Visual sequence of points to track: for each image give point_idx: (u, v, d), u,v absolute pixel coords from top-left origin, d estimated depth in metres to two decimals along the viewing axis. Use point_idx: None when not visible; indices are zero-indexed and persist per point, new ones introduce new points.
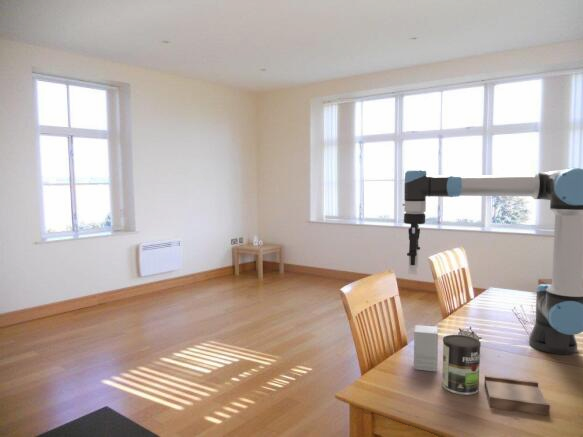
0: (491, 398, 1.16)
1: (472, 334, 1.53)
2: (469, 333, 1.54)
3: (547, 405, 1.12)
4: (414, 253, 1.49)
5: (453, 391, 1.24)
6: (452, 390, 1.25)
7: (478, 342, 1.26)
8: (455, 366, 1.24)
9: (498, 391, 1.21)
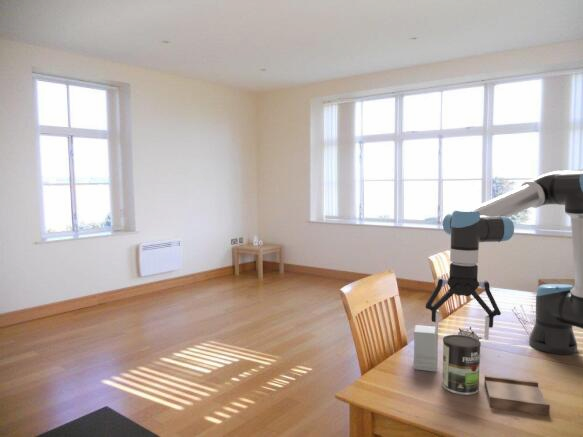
0: (491, 398, 1.16)
1: (472, 334, 1.53)
2: (469, 333, 1.54)
3: (547, 405, 1.12)
4: None
5: (453, 391, 1.24)
6: (452, 390, 1.25)
7: (478, 342, 1.26)
8: (455, 366, 1.24)
9: (498, 391, 1.21)
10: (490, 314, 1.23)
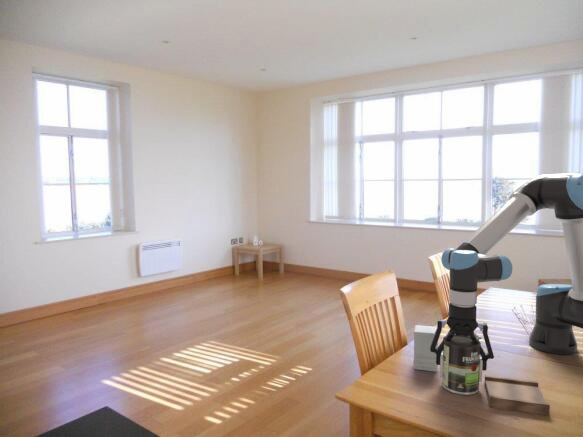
0: (491, 398, 1.16)
1: None
2: None
3: (547, 405, 1.12)
4: (430, 349, 1.30)
5: (453, 391, 1.24)
6: (452, 390, 1.25)
7: None
8: (455, 366, 1.24)
9: (498, 391, 1.21)
10: (483, 357, 1.24)
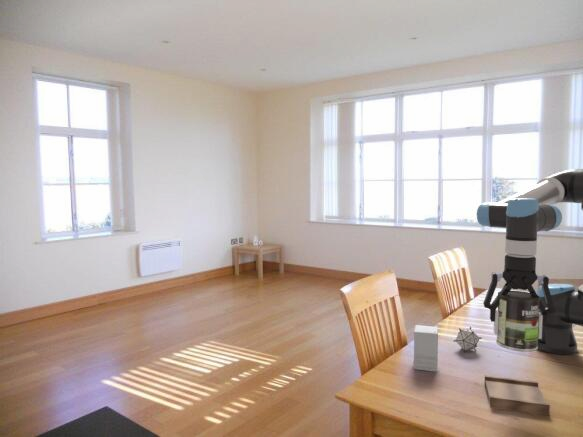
0: (491, 398, 1.16)
1: (472, 334, 1.53)
2: (469, 333, 1.54)
3: (547, 405, 1.12)
4: (484, 305, 1.21)
5: (511, 348, 1.16)
6: (510, 347, 1.16)
7: None
8: (514, 321, 1.15)
9: (498, 391, 1.21)
10: (544, 312, 1.16)
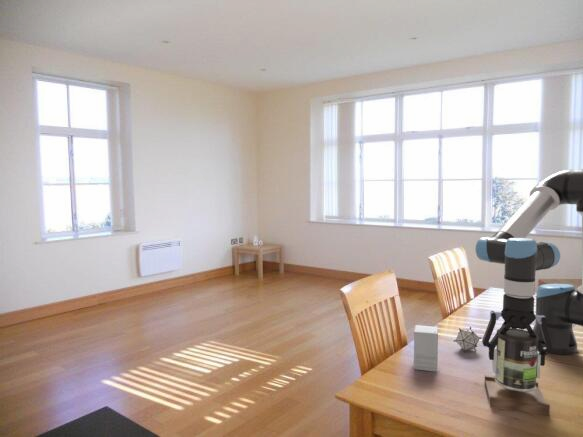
0: (491, 398, 1.16)
1: (472, 334, 1.53)
2: (469, 333, 1.54)
3: (547, 405, 1.12)
4: None
5: (510, 388, 1.17)
6: (508, 386, 1.17)
7: None
8: (512, 361, 1.16)
9: (498, 391, 1.21)
10: (542, 352, 1.17)
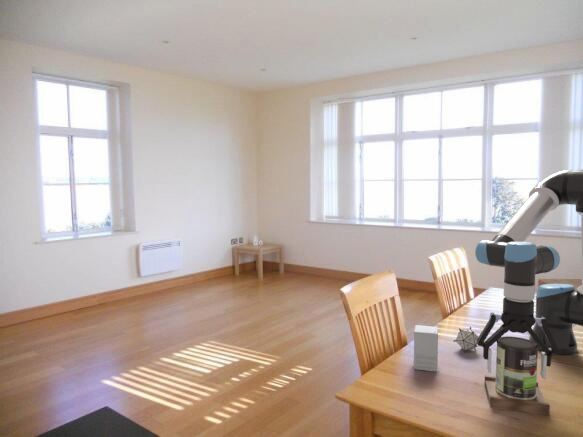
0: (491, 398, 1.16)
1: (472, 334, 1.53)
2: (469, 333, 1.54)
3: (547, 405, 1.12)
4: (477, 342, 1.22)
5: (510, 397, 1.17)
6: (508, 395, 1.17)
7: (535, 344, 1.19)
8: (512, 370, 1.16)
9: None
10: (548, 352, 1.16)
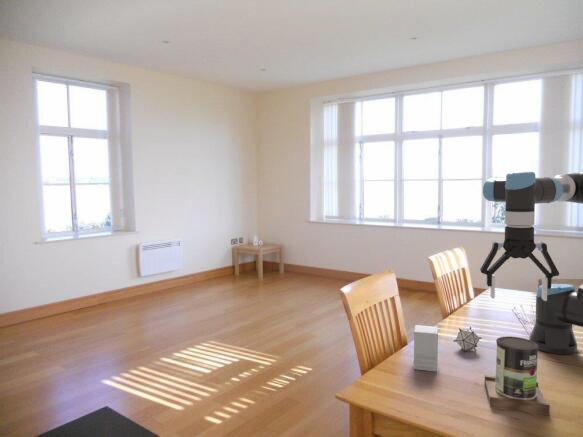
0: (491, 398, 1.16)
1: (472, 334, 1.53)
2: (469, 333, 1.54)
3: (547, 405, 1.12)
4: (481, 271, 1.28)
5: (510, 397, 1.17)
6: (508, 395, 1.17)
7: (535, 344, 1.19)
8: (512, 370, 1.16)
9: None
10: (548, 275, 1.23)
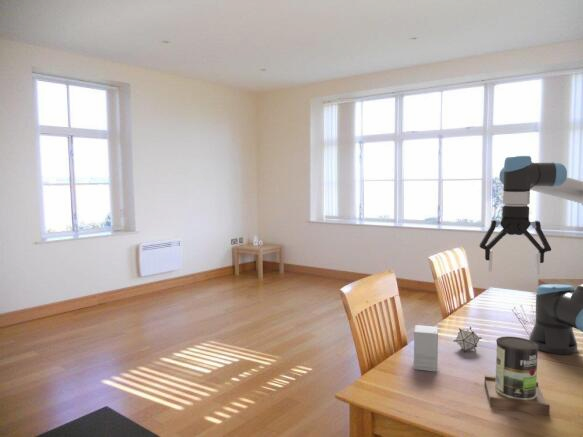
0: (491, 398, 1.16)
1: (472, 334, 1.53)
2: (469, 333, 1.54)
3: (547, 405, 1.12)
4: (480, 246, 1.41)
5: (510, 397, 1.17)
6: (508, 395, 1.17)
7: (535, 344, 1.19)
8: (512, 370, 1.16)
9: None
10: (541, 250, 1.35)
